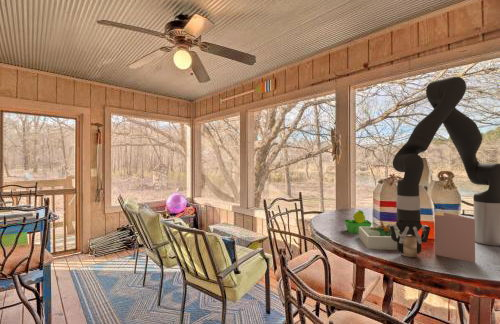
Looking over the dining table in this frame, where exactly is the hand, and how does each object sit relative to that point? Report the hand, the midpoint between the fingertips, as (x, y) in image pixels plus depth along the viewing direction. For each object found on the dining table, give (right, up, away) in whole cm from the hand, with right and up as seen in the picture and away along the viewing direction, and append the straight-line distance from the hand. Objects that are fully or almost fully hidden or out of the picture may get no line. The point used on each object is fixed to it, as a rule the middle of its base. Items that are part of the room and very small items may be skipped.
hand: (409, 252), depth 97 cm
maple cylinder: (0, -1, 0) cm, 1 cm away
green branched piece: (-1, 0, +17) cm, 17 cm away
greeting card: (+14, -1, -2) cm, 15 cm away
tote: (-2, -1, +14) cm, 15 cm away
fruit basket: (-6, -1, +32) cm, 33 cm away
